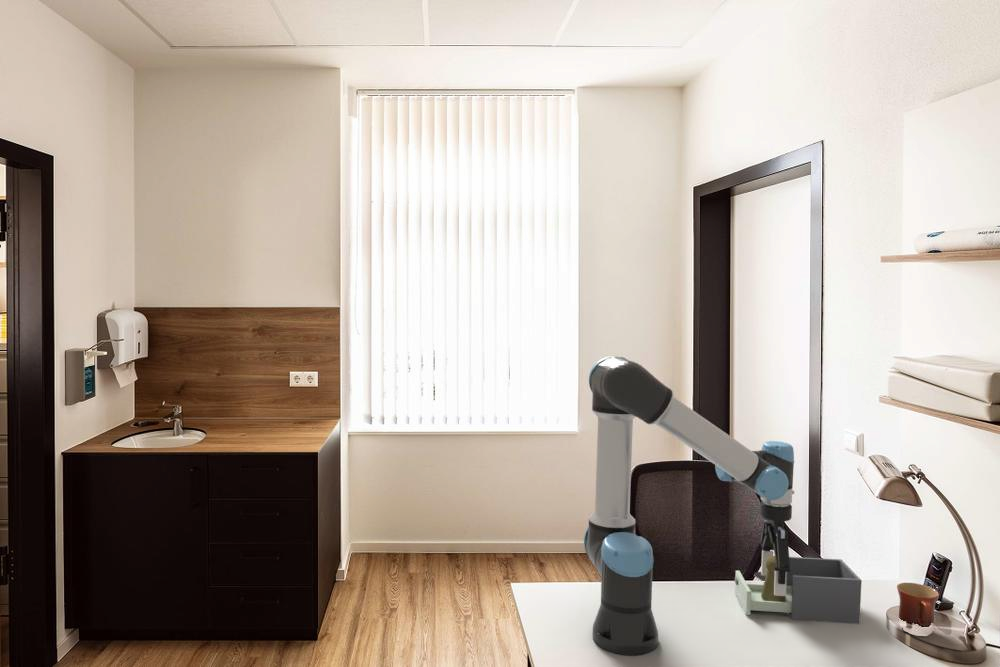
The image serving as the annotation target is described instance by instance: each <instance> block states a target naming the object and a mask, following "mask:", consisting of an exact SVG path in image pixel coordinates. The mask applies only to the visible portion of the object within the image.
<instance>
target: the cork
mask: <svg viewBox="0 0 1000 667" xmlns="http://www.w3.org/2000/svg"><path fill="white" fill-rule="evenodd" d="M766 568H767V573H766V577H765V582H763V584H764V586H763V590H762V594H761V597H762V599H763V600H765V601H774V602H786V596H775V595H774V577H775V571H774V570H773V569H774V568H776V562H775V555H773V556H770V557H768V558H767V560H766Z"/></svg>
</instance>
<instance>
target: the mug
mask: <svg viewBox="0 0 1000 667" xmlns="http://www.w3.org/2000/svg"><path fill="white" fill-rule="evenodd" d="M896 588H897V593H898V595H899V606H898V617H899V618H900V619H901V620H903V621H909V622H912V623H914V624H918V625H919V626H921V627H929V626H930V625H931V623H934V624H935V609H936V608H935V607H936V603H937V601H938V599H939V596H940V593H939V592H938V590H936V589H935V588H933V587H930V586H927V585H924V584H921V583H916V582H901V583H898V584H897V585H896Z"/></svg>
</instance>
